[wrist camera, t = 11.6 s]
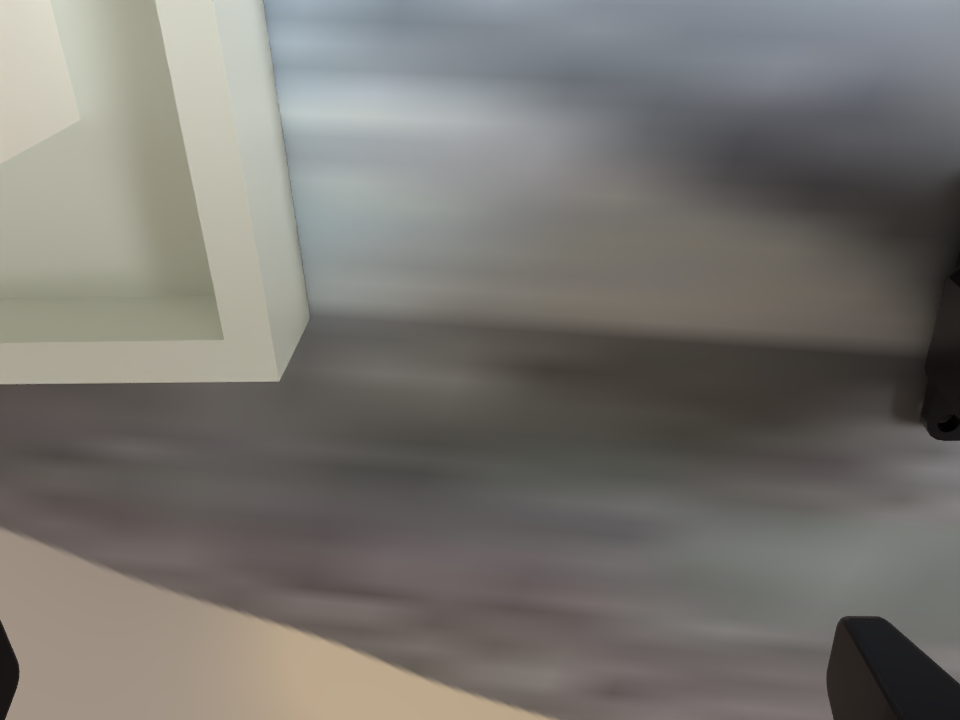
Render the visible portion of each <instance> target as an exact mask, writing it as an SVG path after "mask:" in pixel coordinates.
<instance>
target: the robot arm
mask: <svg viewBox="0 0 960 720" xmlns="http://www.w3.org/2000/svg"><path fill="white" fill-rule="evenodd" d="M924 371H925V374H926V375H927V376H928V378H929V383H928V387H927V391H926V395H925V399H924V403H923V407H922V411H921V422H922V424H923V426H924V427H925V429H926V430H927V432H928V433H929V434H930V436H932V437H933V438H935V439H937V440H943V441H960V255H959V259H958V263H957V267H956V269H954V270H953V271H952V272H951V273H950V274H949V275H948V277H947V278H946V280H945V284H944V288H943V293H942V297H941V301H940V305H939V310H938V314H937V318H936V322H935V326H934V331H933V335H932V339H931V343H930V347H929V352H928V356H927V360H926V364H925V369H924ZM950 414H953V415H952V417H951V418H950V419H949V420H948V421H946V422H943V423H938V422H939V420H940V419H941V418H942V417H944V416H945V415H950ZM826 680H827V691H828V697H829V701H830V706H831V710H832V714H833V719H834V720H960V684H959V683H958V682H957V681H956V680H954V679H953V678H952V677H951V676H950V675H949V674H948V673H946V672H945V671H944V670H943V669H942V668H941V667H940V666H938V665H937V664H936V663H935V662H934V661H933V660H932V659H930V658H929V657H928V656H927V655H926V654H925V653H924V652H923V651H921V650H920V649H919V648H918V647H917V646H916V645H915V644H913V643H912V642H911V641H910V640H909V639H908V638H907V637H905V636H904V635H903V634H902V633H901V632H900V631H899V630H897V629H896V628H895V627H894V626H893V625H892V624H891V623H889V622H888V621H887V620H885V619H883V618H881V617H877V616H846V617H843V618H841V619H840V621H839V622H838V624H837V627H836V631H835V636H834V641H833V645H832V650H831V654H830V659H829V664H828V668H827V678H826ZM18 681H19V664H18V661H17V658H16V656H15V654H14V651H13V649H12V647H11V644H10V642H9V639H8V637H7V635H6V632H5V630H4V627H3V625H2V623H1V621H0V720H5V718H6V715H7V713H8V710H9V707H10V705H11V702H12V699H13V697H14V694H15V691H16V689H17V685H18Z"/></svg>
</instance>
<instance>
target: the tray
mask: <svg viewBox="0 0 960 720" xmlns="http://www.w3.org/2000/svg"><path fill="white" fill-rule="evenodd" d="M50 1H51V5H52V9H53V13H54V17H55V21H56V25H57V29H58V33H59V37H60V41H61V45H62V49H63V53H64V57H65V61H66V65H67V69H68V73H69V77H70V81H71V85H72V89H73V92H74V96H75V100H76V104H77V108H78V112H79V116H80V120H79V121H78V122H76V123H74V124H72V125H70V126H69V127H67V128H65V129H63V130H61V131H60V132H58V133H56V134H54V135H52V136H51V137H49V138H47V139H45V140H43V141H42V142H40V143H38V144H36V145H34V146H32V147H31V148H29V149H27V150H25V151H23V152H22V153H20V154H18V155H16V156H14V157H13V158H11V159H9V160H7V161H5V162H4V163H2V164H0V384H74V383H173V382H272V381H280V379H281V377H282V375H283V373H284V371H285V369H286V367H287V365H288V363H289V361H290V359H291V357H292V355H293V353H294V350H295V348H296V346H297V344H298V342H299V340H300V338H301V336H302V334H303V332H304V330H305V328H306V326H307V324H308V322H309V320H310V313H309V307H308V300H307V293H306V286H305V280H304V273H303V266H302V259H301V253H300V246H299V239H298V232H297V226H296V219H295V212H294V205H293V199H292V192H291V185H290V178H289V172H288V165H287V158H286V151H285V145H284V138H283V131H282V124H281V118H280V111H279V104H278V97H277V91H276V84H275V77H274V70H273V64H272V57H271V50H270V43H269V37H268V30H267V23H266V16H265V10H264V3H263V0H50Z"/></svg>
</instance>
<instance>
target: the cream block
mask: <svg viewBox="0 0 960 720" xmlns="http://www.w3.org/2000/svg"><path fill="white" fill-rule="evenodd" d="M79 120H80V116H79V112H78V108H77V104H76V100H75V96H74V92H73V89H72V85H71V81H70V77H69V73H68V69H67V65H66V61H65V57H64V53H63V49H62V45H61V41H60V37H59V33H58V29H57V25H56V21H55V17H54V13H53V9H52V5H51V1H50V0H0V164H2V163H4V162H5V161H7V160H9V159H11V158H13V157H14V156H16V155H18V154H20V153H22V152H23V151H25V150H27V149H29V148H31V147H32V146H34V145H36V144H38V143H40V142H42V141H43V140H45V139H47V138H49V137H51V136H52V135H54V134H56V133H58V132H60V131H61V130H63V129H65V128H67V127H69V126H70V125H72V124H74V123H76V122H78V121H79Z"/></svg>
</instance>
